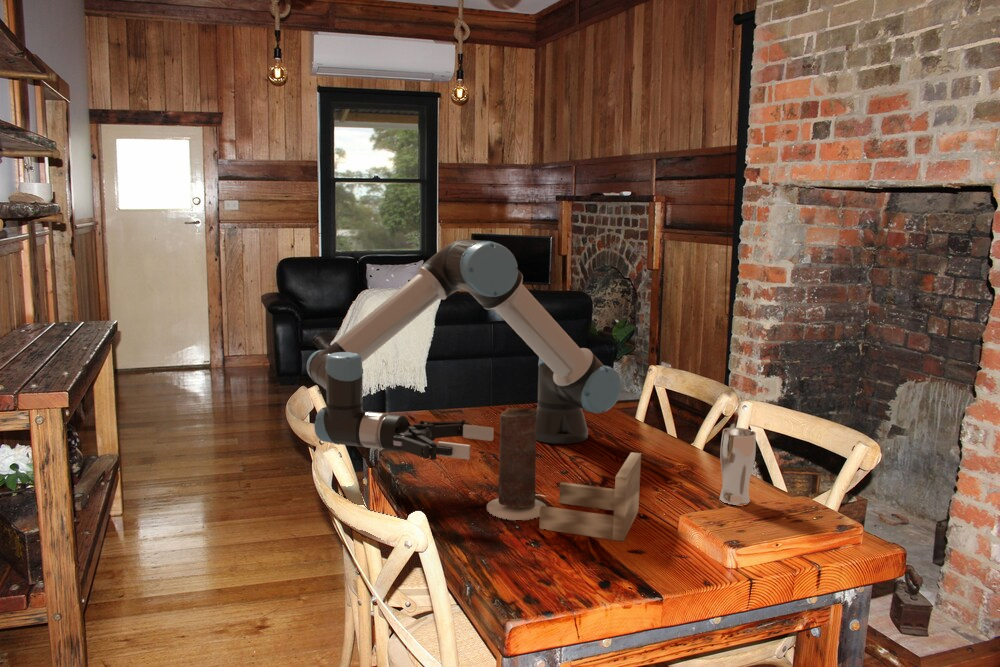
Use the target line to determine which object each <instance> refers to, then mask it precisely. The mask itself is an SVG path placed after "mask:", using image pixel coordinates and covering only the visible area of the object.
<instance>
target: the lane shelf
mask: <svg viewBox="0 0 1000 667" xmlns="http://www.w3.org/2000/svg"><path fill="white" fill-rule="evenodd" d="M641 463H642V453H641V452H640V453H639V452H631V451H630V453H629V455H628V456H627V458H626V459H625V461H624V462H623V464H622V466H621V467H620V468H619V471H618V472H617V473H616V475H615V479H614V480H615V482H614V488H610V487H602V486H595V485H587V484H581V483H579V484H578V483H571V482H564V481H561V482H560V483H559V494H558V495H559V496H558V498H559V499H558V502H559V504H562V505H571V506H577V507H578V506H579V507H584V508H591V509H601V510H607V511H613V515H611V514H603V513H597V512H590V511H582V510H575V509H574V510H573V509H568V508H567V509H566V508H562V507H561V508H560V507H555V506H554V507H553V506H547V505H546V506H541V508H540V517H539V519H538V520H539V524H538V525H539V526H538V527H539V528H538V529H540V530H544V529H546V531H550V532H551V531H552V532H560V533H565V534H572V535H579V536H585V537H591V538H593V537H594V538H598V539H604V540H605V539H606V540H612V541H619V542H625V540H626V537H627V535H628V533H629V532H630V529H631V527H632V525H633V523H634V521H635V519H636V517H637V515H638V513H639V505H640V504H639V503H640V483H641Z"/></svg>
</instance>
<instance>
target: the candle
mask: <svg viewBox="0 0 1000 667" xmlns="http://www.w3.org/2000/svg"><path fill="white" fill-rule="evenodd" d="M536 410H537V409H535V408H533V409H532V408H526V407H525V408H524V407H523V408H519V407H508V408H506V409H505V410H503V411H502V412H501V413H500V416H499V418H500V419H499V423H500V424H499V458H498V459H499V461H498V462H499V464H498V465H499V466H498V468H499V469H498V498H499V500H498V501H499V503H500V504H501V505H504V506H507V507H510V508H531V507H534V506H535V499H536V487H537V484H536V467H537V466H536V465H537V463H536V462H537V461H536V460H537V459H536V458H537V457H536V456H537V455H536V453H537V452H536V451H537V449H536V448H537V447H536V446H537V440H536Z"/></svg>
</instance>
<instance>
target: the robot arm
mask: <svg viewBox="0 0 1000 667" xmlns="http://www.w3.org/2000/svg"><path fill="white" fill-rule="evenodd" d="M518 267H519V266H518V262H517V260H516V257H515V255H514V254H513V253H512V252H511V250H510V249H508V248H507V247H506V246H504V245H502V244H500V243H498V242H495V241H491V240H478V239H477V240H476V239H470V238H469V239H468V238H464V239H462V238H461V239H457V240H455V241H452V242H450V243H449V244H447V245H445V246H444V247H443V248H441V249H440V250H438V251H437V252H436V253H435V254H434V255H432V256H431V257H430V258H428V259H427V260H426V261H425V262H423V264H421V265H420V266H419V267H418V269H417V274H416V275H415V276H414V277H412V278H411V279H410V280H408V282H406V283H405V284H404V285H403V286H401V288H399V289H397V291H396V292H394V293H393V294H392V295H391V296H389V297H388V298H387V299H385V301H384V302H382V303H380V305H379V306H377V307H376V308H375V309H374V310H373V311H371V312H370V313H369V314H368V315H366V316H365V317H364V318H363V319H361V320H360V321H359V322H358V323H356V324H355V325H354V326H353V327H352V328H351V329H350V330H348V331H347V332H346V333H345V334H344V335H342V336H341V337H340V338H339V339H337V340H336V341H334V342H333V343H332V344H331V345H330V346H328V347H327V348H326V349H319V350H316V351H314V352H313V353H312V354H311V355H309V357H308V359H307V360H306V361H307V362H306V372H307V374H308V376H309V377H310V378H311V381H312V382H314V383H315V384H317V385H318V386H321V387H322V388H323V389H324V390H325V391H326V393H325V394H326V406H324V407H322V408H320V410H319V411H318V412H317V413H316V416H315V421H314V424H313V425H314V426H313V428H314V433H315V435H316V437H317V439H318V440H319V441H321V442H325V443H330V444H334V445H337V446H339V445H343V446H351V447H353V446H354V447H361V448H369V449H371V451H376V450H385V451H389V452H390V451H391V452H398V453H399V452H402V451H403V452H405V453H409V454H412V455H414V456H417V457H420V458H422V459H425V460H426V459H430V460H431V461H436V460H437V456H438V457H443V458H444V457H446V458H452V459H461V460H470V459H471V445H470V444H464V443H456V442H449V441H448V442H447V441H439V440H438V441H437V442H435V441H436V440H435V439H442V438H443V439H444V438H453V437H462V438H463V439H464V438H465V439H471V440H481V441H488V442H493V441H494V429H495V428H494V427H492V426H491V427H490V426H485V425H484V426H483V425H475V424H474V425H472V424H466V420H465V419H462V420H455V421H454V420H450V421H445V420H442V421H441V420H440V421H430V420H429V421H428V420H420V421H419V422H418V423H414V424H411V423H410V421H409V419H408V417H406V415H402V414H395V413H389V414H388V413H386V412H376V411H365V410H363V393H364V392H363V384H364V382H363V380H364V377H363V375H364V368H363V362H364V361H366V360H367V359H368V358H369V357H371V356H372V355H373V354H375V353H376V352H377V351H378V350H379V349H381V347H383V346H384V345H385V344H386V343H387V342H388V341H389V340H391V339H392V338H394V337H395V335H397V334H399V332H401V331H403V329H404V328H406V327H407V325H409V324H410V323H412V322H413V321H414V320H415V319H417V317H419V316H420V315H421V314H422V313H423V312H425V311H427V309H429V308H430V306H432V305H434V304H435V302H437V301H438V300H442V301H444V300H446V299H448V298H449V297H450V296H451V295H452V294H454V293H456V292H458V291H460V290H463V291H467V292H468V293H469V294H470V295H471V296H472V297H473V298H474V299H475V300H476V301H477V303H479V304H480V305H481V306H482V307H483V309H485V310H487V311H488V310H495V312H496V313H497V314H498V315H499V316H500V317H501V318H502V319H503V320H504V321H505V322H506V323H507V324H508V325H509V326H510V327H511V329H512V330H513V331H514V332H515V333H516V334H517V335H518V336H519V337H520V338H521V339H522V340H523V341H524V342H525V344H526V345H527V346H528V347H529V348H530V349H531V350H532V351H533V352H534V353H535V354H536V355H537V356H538V365H537V367H538V368H537V369H538V376H537V378H538V380H537V407H536V409H535V410H536V441H538V442H542V443H545V444H555V445H570V444H571V445H572V444H578V443H582V442H585V441H586V440H587V439H588V437H589V429H588V426H587V422H586V418H585V415H584V411H583V410H585V411H586V412H588V413H594V414H602V413H606V412H607V411H609V410H611V409H612V408H613V407H614V406H615V405H616V403H617V402H618V400H619V398H620V396H621V392H622V390H621V388H622V379H621V376H620V374H619V373H618V372H617V370H615V369H614V368H613V367H611V366H608V365H604V364H603V362H601V361H600V359H598V357H597V356H596V355H595V354H594V353H593V352H592V351H591V349H589V348H586V347H580V346H578V344H577V343H576V342H575V341H574V340H573V339H572V337H571V336H570V335H568V333H567V332H566V331H565V330H564V329H563V328H562V327H561V326H560V324H559V323H558V322H557V321H556V320H555V319H554V318H553V317H552V315H551V314H550V313H549V312H548V311H547V310H546V309H545V307H544V306H543V305H542V304H541V303H540V302H539V301H538V300H537V298H535V297H534V295H533V294H532V293H531V292H530V291H529V289H527V288H526V286H524V284H523V282H524V280H523V279H524V276H523V274H522V272H521V271H520V270H519V269H518Z"/></svg>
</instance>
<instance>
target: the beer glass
mask: <svg viewBox="0 0 1000 667" xmlns="http://www.w3.org/2000/svg"><path fill="white" fill-rule="evenodd" d="M756 434H757V432H755V431H754V430H752V429H749V428H743V427H726V428H723V430H722V435H721V440H720V441H721V442H720V449H719V450H720V453H719V454H720V455H719V457H720V468H721V476H722V479H721V480H722V486H721V490H720V495H719V501H720V500H721V501H722V502H724V503H728V504H733V505H742V504H748V503H749V502H750V503H751V500H750V493H749V491H750V490H749V488H750V487H749V486H750V481H751V477H752V473H753V470H754V466H755V460H756V450H757V449H756V448H757V443H756V442H757V440H756V436H757V435H756ZM721 501H720V502H721ZM722 502H721V503H722ZM724 503H723V504H724ZM750 503H749V504H750Z"/></svg>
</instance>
